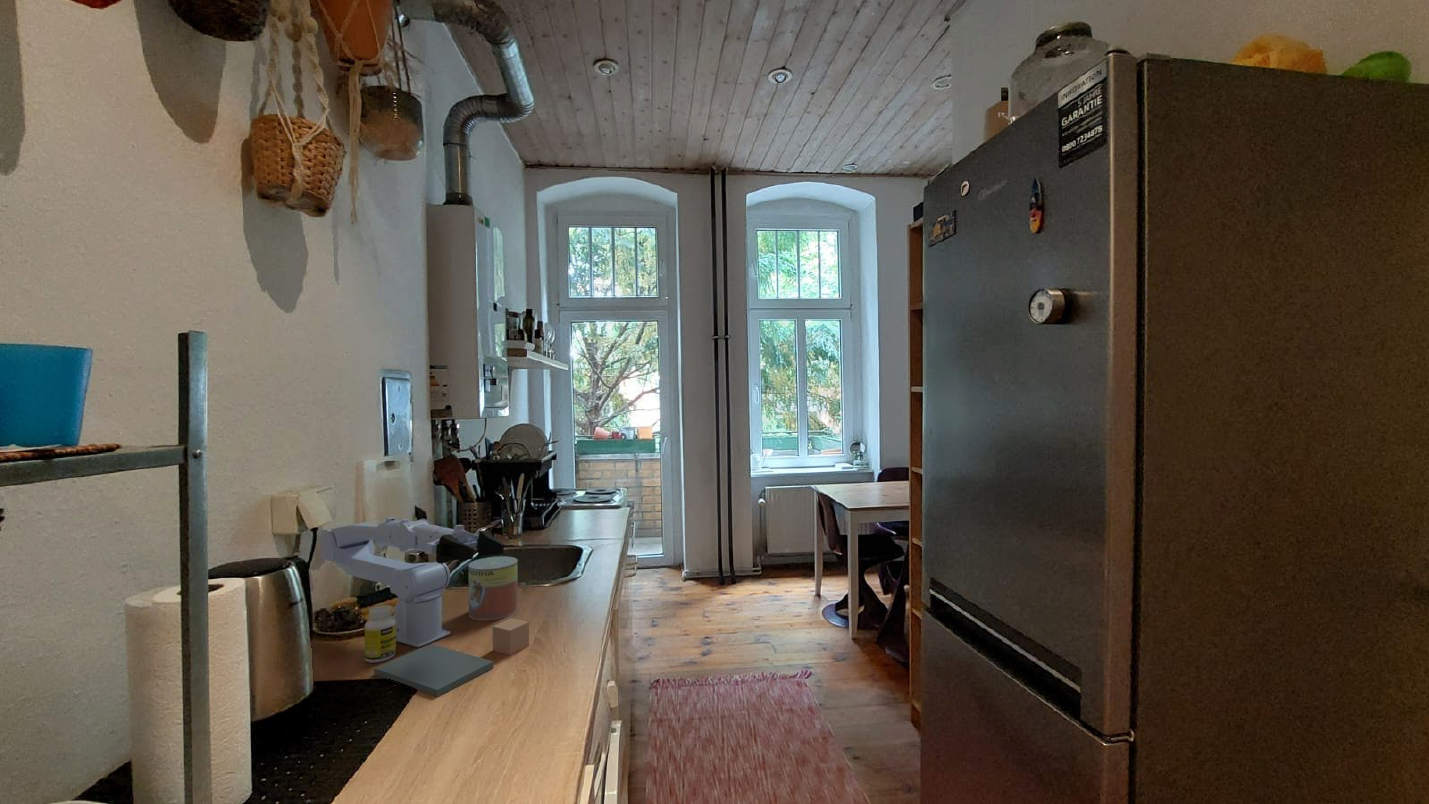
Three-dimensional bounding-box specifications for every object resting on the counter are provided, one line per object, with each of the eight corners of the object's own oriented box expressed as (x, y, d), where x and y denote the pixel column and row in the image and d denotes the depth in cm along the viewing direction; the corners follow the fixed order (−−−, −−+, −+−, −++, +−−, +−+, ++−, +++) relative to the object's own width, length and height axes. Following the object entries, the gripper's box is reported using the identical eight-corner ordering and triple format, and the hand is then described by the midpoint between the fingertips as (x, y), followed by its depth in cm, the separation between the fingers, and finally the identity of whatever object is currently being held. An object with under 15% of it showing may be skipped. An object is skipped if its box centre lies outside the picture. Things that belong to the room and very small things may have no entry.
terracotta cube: (492, 650, 117) (492, 626, 117) (511, 641, 121) (511, 618, 121) (510, 655, 115) (510, 630, 115) (529, 646, 119) (528, 622, 119)
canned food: (458, 614, 137) (458, 564, 137) (498, 600, 147) (497, 554, 147) (488, 623, 131) (488, 571, 131) (527, 608, 141) (527, 560, 141)
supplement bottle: (381, 664, 111) (381, 614, 111) (358, 662, 112) (357, 612, 112) (402, 652, 116) (402, 604, 116) (379, 650, 117) (379, 603, 117)
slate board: (374, 674, 107) (374, 668, 107) (431, 649, 117) (431, 643, 117) (437, 696, 98) (437, 689, 98) (493, 667, 109) (493, 661, 109)
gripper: (413, 524, 114) (460, 534, 108) (472, 519, 127) (517, 528, 121) (408, 560, 114) (455, 572, 108) (468, 551, 127) (513, 562, 121)
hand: (487, 551), depth 114 cm, fingers open, 7 cm apart
